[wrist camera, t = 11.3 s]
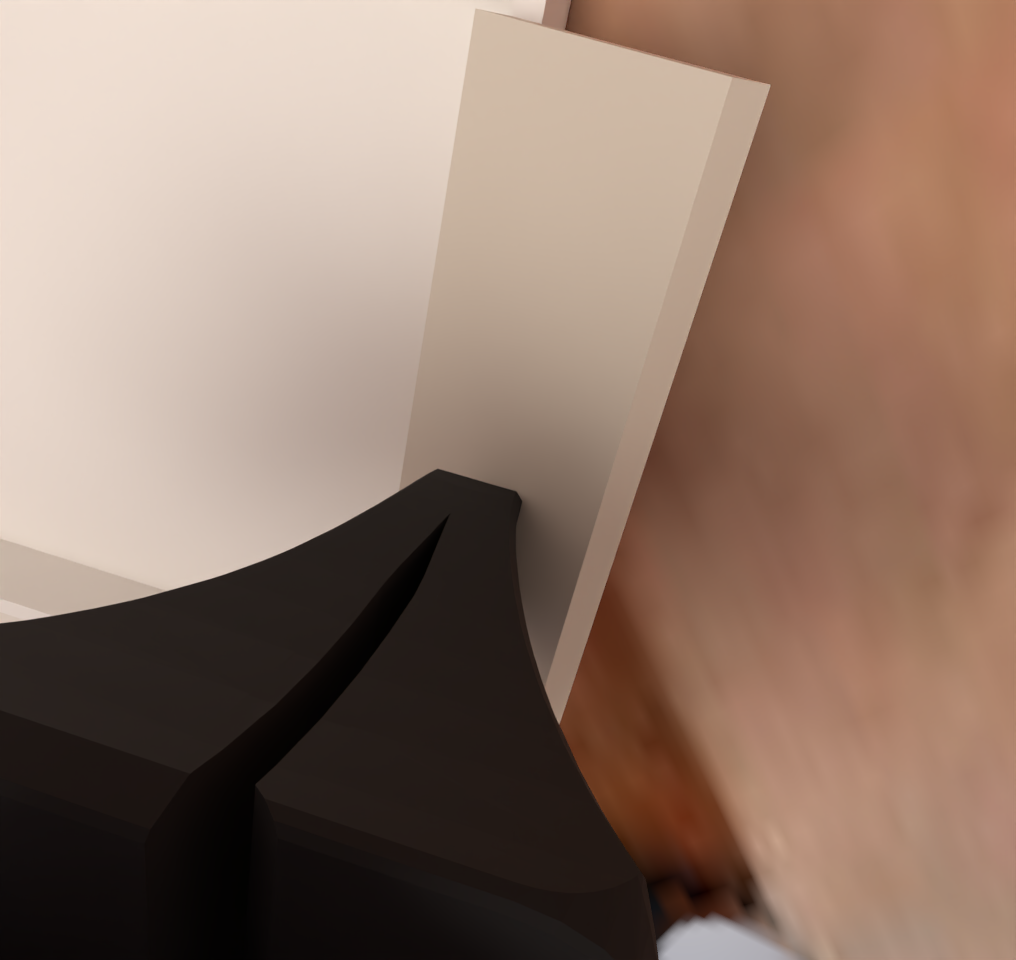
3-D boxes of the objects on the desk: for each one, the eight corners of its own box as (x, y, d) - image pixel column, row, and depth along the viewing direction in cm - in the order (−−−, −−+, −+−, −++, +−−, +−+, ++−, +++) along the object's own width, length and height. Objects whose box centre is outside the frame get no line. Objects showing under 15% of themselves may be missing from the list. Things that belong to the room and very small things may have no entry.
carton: (411, 766, 20) (383, 833, 19) (-164, 577, 22) (-239, 624, 20) (635, -306, 10) (619, -376, 9) (-456, -523, 12) (-658, -620, 10)
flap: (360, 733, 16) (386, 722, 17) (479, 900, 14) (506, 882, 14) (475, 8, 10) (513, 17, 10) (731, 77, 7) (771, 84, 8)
